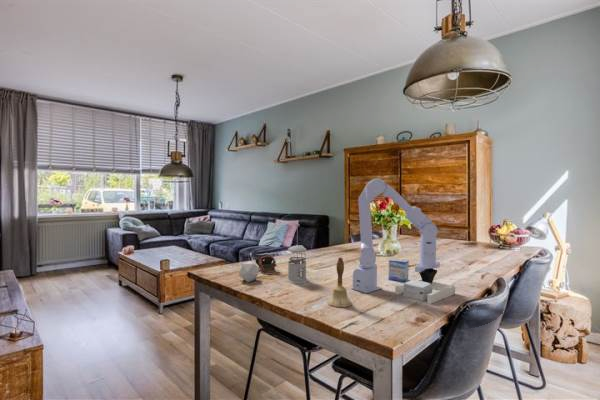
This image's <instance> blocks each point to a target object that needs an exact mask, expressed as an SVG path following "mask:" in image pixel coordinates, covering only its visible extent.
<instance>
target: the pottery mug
mask: <svg viewBox="0 0 600 400" xmlns="http://www.w3.org/2000/svg"><path fill="white" fill-rule="evenodd" d="M255 263H256V264H255V265H256V266H257V267H258V268H259V272H260V273H262V274H263V273H264V272H266V271H271V270H272V269H273V270H275V268H276V267H277V261H276V259H275V258H274V257H273V256H272V255H264V256H262V257H259V256H258V257H256V258H255Z"/></svg>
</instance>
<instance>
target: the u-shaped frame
mask: <svg viewBox="0 0 600 400" xmlns="http://www.w3.org/2000/svg"><path fill="white" fill-rule="evenodd" d="M416 280H418V281H422V278H421V277H420V278H418V279H417V278H416ZM432 284H433V286H432V290H435V291H432V293H431V294H428V295H427V299H426V302H427V304H428V305H431V304H433V303H436V302H438V301H440V300H444V299H446V298H448V297H450V296H452V295H456V285H453V284H449V283H444V282H440V281H436V280H433V282H432ZM394 289H395V292H394V293H395V295H400V294H404V283H401V284H398V285H395V288H394Z"/></svg>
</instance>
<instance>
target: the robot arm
mask: <svg viewBox="0 0 600 400" xmlns="http://www.w3.org/2000/svg"><path fill="white" fill-rule="evenodd" d="M381 194H382V196H384V197H385V198H386V197H387V198H390V199H391V200H392V201H393V202H394V204H396V205H397V206H398V207H400V209H401V210H403V211H404V217H405V218H406V219H407V221H409V222H410V223H411V224H412V225H413V226H414V227H415V228H416V229H418V230H419V232H420V233H421V234H420V241H419V242H420V243H419V263H418V264H417V265H416V266H415V267H414V272H416V273H418V274H419V275H420V278H422V281H423V282H427V283H432V282H433V281H434V279H435V276H436V274H438V269H439V268H440V267H441V265H440V263H441V262H439V261H437V235H438V233H439V230H438V228H437V225H436V224H435V223H433V221H432V220H431V218H430V217H428V216H426V215H425V213H423V212H422V211H423V210H422V208H421V207H417V206H411V205H410V204H409V203H408V202H407V200H406V199H404V198H403V196H401V195H400V194H399V193H398V192H397V191H396V189H395V188H394V187H392V186H391V185H389V184H388V183H387V182H385V181H384V179H381V178H372V179H371V180H370V181H369V182H368V183H367V184H365V186H364V188H363V190H362V191H361V194H359V196H358V199H357V200H358V214H359V215H358V216H359V231H360V255H359V257H358V261H359V263H358V266H357V268H355V269H354V270H353V272H352V286H351V287H350V288H351V289H352V290H355V291H357V292H361V293H365V294H368V293H372V292H375V291H378V290H381V289H382V287H381V286H378V285H377V284H378V282H377V281H378V265H377V264H376V262H377V261H376V259H377V253H376V251H375V250H374V242H373V227H372V211H371V210H372V209H371V202H372V201H373V200H374V199H375V198H376V197H377V196H380V195H381Z"/></svg>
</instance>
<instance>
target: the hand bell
mask: <svg viewBox="0 0 600 400" xmlns="http://www.w3.org/2000/svg"><path fill="white" fill-rule="evenodd" d="M344 269H345V264H344V260H343V257H338V259H337V262H336V274H337V282H336V283H337V284H336V285H335V287H333V288H332V289H333V290H332V296H331V297H330V299H328V301H327V304H328V305H329V306H332V307H336V308H347V307H351V306H352V305H353V303H352V300H350V298H349V297H348V293H347V288H346V287H344V286H343V275H344V271H345V270H344Z"/></svg>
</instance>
